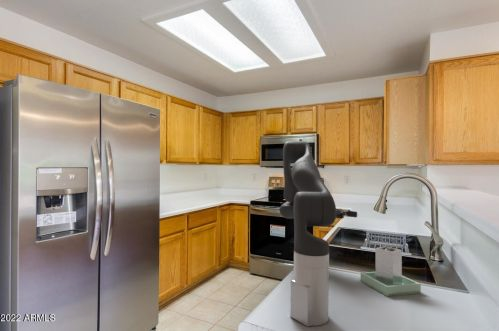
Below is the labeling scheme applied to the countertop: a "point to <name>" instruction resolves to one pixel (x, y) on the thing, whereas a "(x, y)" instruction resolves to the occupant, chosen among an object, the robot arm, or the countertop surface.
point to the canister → (388, 266)
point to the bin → (393, 290)
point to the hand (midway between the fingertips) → (350, 215)
